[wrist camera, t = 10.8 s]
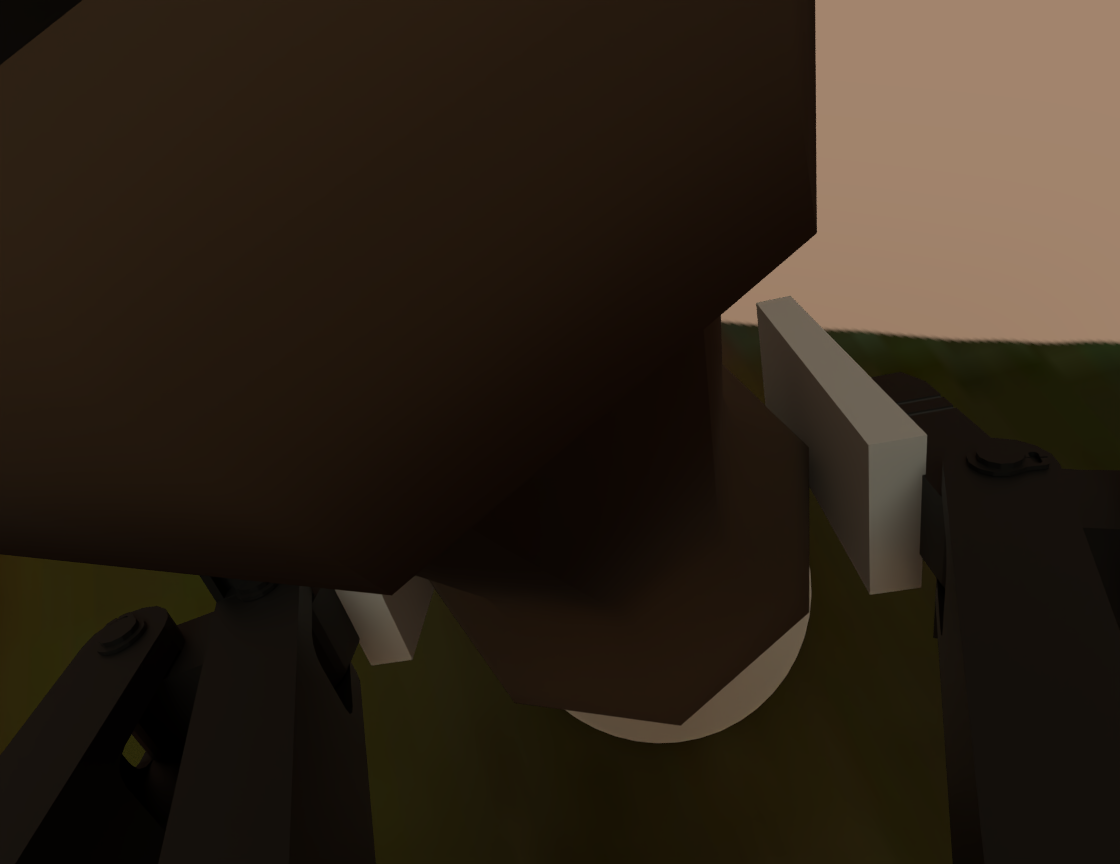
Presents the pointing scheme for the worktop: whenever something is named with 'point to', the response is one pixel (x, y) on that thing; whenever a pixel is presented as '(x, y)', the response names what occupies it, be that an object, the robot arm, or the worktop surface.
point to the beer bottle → (416, 314)
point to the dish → (716, 697)
